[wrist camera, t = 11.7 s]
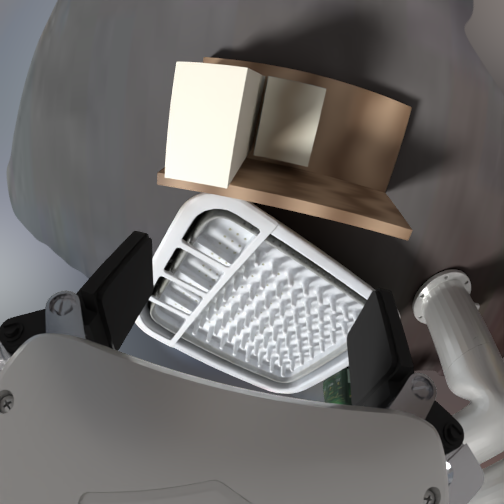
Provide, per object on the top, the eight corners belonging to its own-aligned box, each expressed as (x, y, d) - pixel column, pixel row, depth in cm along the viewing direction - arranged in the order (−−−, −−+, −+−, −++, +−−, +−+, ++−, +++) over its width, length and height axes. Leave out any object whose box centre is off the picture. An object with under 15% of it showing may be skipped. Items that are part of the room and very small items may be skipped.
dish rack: (289, 372, 59) (287, 403, 53) (139, 293, 51) (121, 322, 45) (403, 290, 43) (415, 324, 37) (218, 154, 35) (200, 171, 29)
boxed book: (265, 76, 27) (247, 66, 15) (251, 148, 32) (226, 188, 21) (222, 70, 27) (176, 60, 16) (210, 141, 32) (164, 177, 21)
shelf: (405, 105, 28) (453, 118, 18) (377, 195, 35) (407, 240, 25) (208, 58, 28) (170, 47, 18) (195, 153, 35) (157, 184, 25)
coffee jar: (342, 389, 61) (344, 457, 46) (317, 382, 60) (316, 453, 45) (369, 371, 56) (378, 444, 41) (345, 362, 55) (350, 441, 40)
